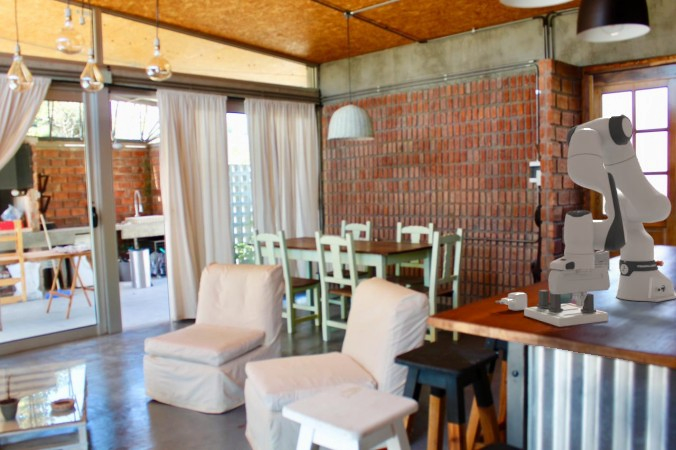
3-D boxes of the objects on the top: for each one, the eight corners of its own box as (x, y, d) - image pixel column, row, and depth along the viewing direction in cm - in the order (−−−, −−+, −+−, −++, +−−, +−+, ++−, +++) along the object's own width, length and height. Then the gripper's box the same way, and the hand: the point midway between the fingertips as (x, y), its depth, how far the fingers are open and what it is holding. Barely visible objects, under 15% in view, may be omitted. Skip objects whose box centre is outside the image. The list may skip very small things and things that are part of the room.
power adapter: (502, 313, 200) (502, 296, 200) (493, 311, 204) (493, 294, 204) (529, 309, 204) (528, 293, 203) (520, 307, 208) (519, 291, 208)
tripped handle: (589, 310, 186) (588, 293, 186) (596, 312, 183) (595, 294, 183) (580, 311, 185) (580, 293, 185) (587, 313, 182) (587, 295, 182)
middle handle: (556, 309, 190) (556, 292, 190) (562, 311, 187) (562, 293, 187) (548, 310, 189) (547, 293, 189) (554, 312, 186) (554, 294, 186)
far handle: (545, 306, 196) (544, 289, 195) (551, 307, 193) (550, 290, 192) (536, 307, 195) (536, 290, 194) (542, 308, 192) (542, 291, 191)
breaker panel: (570, 310, 200) (569, 302, 200) (608, 320, 183) (608, 312, 183) (524, 315, 195) (524, 307, 195) (559, 326, 178) (558, 318, 178)
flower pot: (573, 301, 215) (573, 277, 214) (575, 306, 207) (574, 281, 206) (548, 301, 218) (548, 277, 217) (548, 305, 209) (548, 280, 209)
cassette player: (603, 268, 295) (603, 248, 294) (609, 268, 293) (609, 249, 292) (593, 272, 283) (592, 252, 283) (598, 272, 281) (598, 252, 281)
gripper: (600, 259, 189) (600, 302, 189) (545, 263, 183) (546, 307, 184) (614, 261, 183) (614, 305, 183) (558, 265, 177) (558, 310, 178)
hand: (580, 306), depth 184 cm, fingers closed
